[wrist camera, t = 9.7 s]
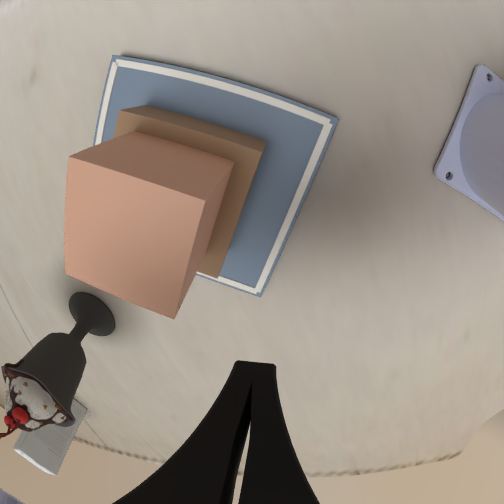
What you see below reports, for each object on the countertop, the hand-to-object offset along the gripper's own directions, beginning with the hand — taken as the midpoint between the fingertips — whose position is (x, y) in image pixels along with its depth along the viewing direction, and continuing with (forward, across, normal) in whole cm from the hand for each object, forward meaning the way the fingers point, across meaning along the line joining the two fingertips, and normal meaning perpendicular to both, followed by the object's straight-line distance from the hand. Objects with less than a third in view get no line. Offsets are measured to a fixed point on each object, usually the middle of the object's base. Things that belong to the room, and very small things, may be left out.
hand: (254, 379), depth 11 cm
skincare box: (+11, +27, +27) cm, 40 cm away
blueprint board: (+10, +5, -4) cm, 12 cm away
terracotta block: (+6, +5, -4) cm, 9 cm away
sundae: (+11, +16, +8) cm, 21 cm away
